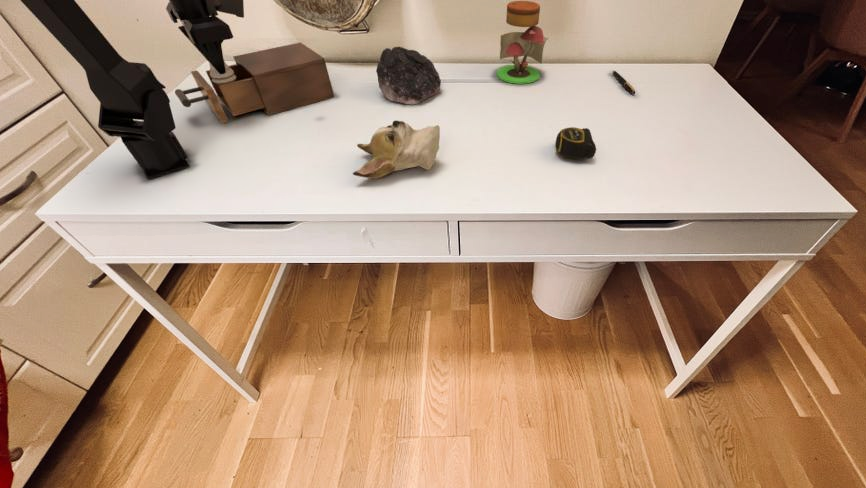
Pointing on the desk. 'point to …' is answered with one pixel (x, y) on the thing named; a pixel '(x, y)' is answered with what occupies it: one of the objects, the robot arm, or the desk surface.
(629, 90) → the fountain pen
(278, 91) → the cabinet
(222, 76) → the rook chess piece
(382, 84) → the crystal cluster
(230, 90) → the drawer
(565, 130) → the tape measure
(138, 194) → the desk surface
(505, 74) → the mushroom figurine
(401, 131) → the ceramic sculpture
